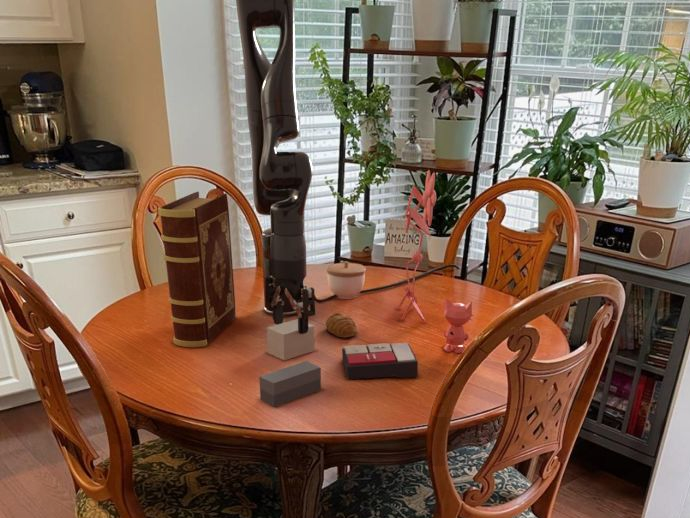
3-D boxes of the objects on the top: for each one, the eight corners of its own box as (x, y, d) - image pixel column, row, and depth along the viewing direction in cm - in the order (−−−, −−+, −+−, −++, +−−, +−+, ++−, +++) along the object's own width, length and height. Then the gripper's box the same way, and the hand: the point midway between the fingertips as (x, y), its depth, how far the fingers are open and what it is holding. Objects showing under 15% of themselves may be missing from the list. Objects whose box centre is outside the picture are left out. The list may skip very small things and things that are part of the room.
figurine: (400, 332, 175) (408, 179, 157) (391, 300, 197) (398, 163, 179) (462, 332, 176) (477, 180, 158) (446, 300, 198) (458, 164, 180)
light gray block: (297, 343, 167) (297, 327, 165) (314, 350, 163) (314, 334, 161) (267, 353, 161) (266, 336, 159) (284, 360, 158) (283, 343, 156)
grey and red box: (341, 344, 157) (408, 339, 158) (342, 362, 159) (408, 357, 160) (346, 363, 147) (418, 358, 149) (347, 382, 150) (417, 377, 151)
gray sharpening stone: (306, 383, 147) (306, 360, 145) (321, 390, 145) (320, 367, 142) (260, 399, 140) (259, 376, 137) (274, 407, 137) (273, 383, 135)
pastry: (363, 337, 171) (364, 322, 169) (338, 341, 169) (338, 325, 167) (347, 325, 179) (347, 310, 177) (322, 328, 176) (322, 313, 174)
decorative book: (203, 349, 162) (189, 211, 147) (170, 346, 164) (153, 208, 148) (237, 318, 181) (228, 193, 165) (207, 315, 182) (196, 190, 167)
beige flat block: (297, 327, 165) (297, 318, 164) (314, 334, 161) (314, 325, 160) (266, 336, 159) (266, 327, 158) (283, 343, 156) (283, 334, 155)
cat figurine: (471, 347, 167) (477, 297, 161) (465, 357, 162) (470, 305, 155) (442, 343, 169) (447, 293, 163) (435, 353, 164) (439, 301, 157)
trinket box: (320, 298, 197) (320, 264, 192) (336, 288, 206) (336, 255, 201) (355, 303, 194) (356, 269, 189) (370, 293, 202) (371, 259, 197)
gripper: (324, 258, 149) (324, 332, 157) (281, 245, 157) (283, 317, 166) (296, 264, 144) (298, 340, 153) (253, 250, 153) (257, 324, 161)
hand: (290, 328), depth 159 cm, fingers open, 8 cm apart
